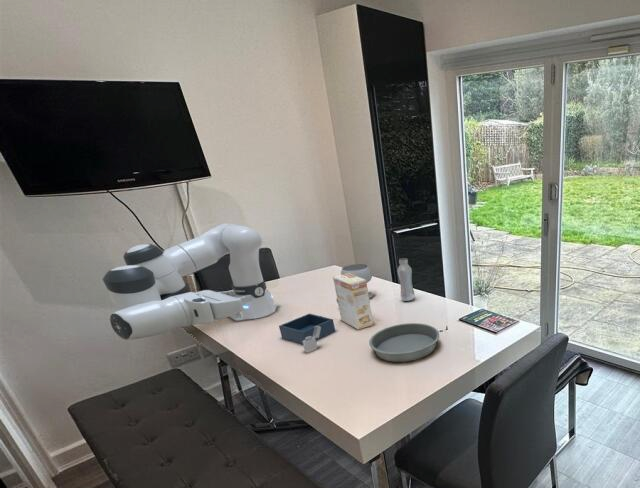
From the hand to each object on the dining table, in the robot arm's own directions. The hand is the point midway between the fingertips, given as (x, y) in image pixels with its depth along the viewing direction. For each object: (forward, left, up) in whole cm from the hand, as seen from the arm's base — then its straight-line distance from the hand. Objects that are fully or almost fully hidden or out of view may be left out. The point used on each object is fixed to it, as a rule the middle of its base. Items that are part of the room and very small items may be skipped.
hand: (242, 295), depth 125 cm
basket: (-10, +25, -26) cm, 37 cm away
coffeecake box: (-2, +42, -26) cm, 50 cm away
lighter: (+2, +18, -26) cm, 32 cm away
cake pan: (+32, +33, -26) cm, 53 cm away
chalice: (-24, +65, -26) cm, 74 cm away
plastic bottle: (0, +72, -26) cm, 77 cm away
